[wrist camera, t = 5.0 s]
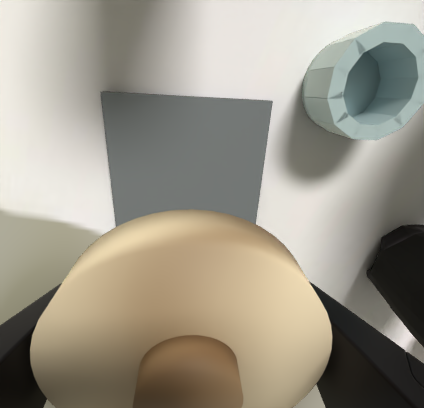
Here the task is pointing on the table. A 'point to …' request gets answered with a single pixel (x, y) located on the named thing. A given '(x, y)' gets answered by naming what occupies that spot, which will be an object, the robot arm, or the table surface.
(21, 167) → the table surface
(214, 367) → the lid
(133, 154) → the mat
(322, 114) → the bowl
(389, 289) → the portable speaker
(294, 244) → the table surface
